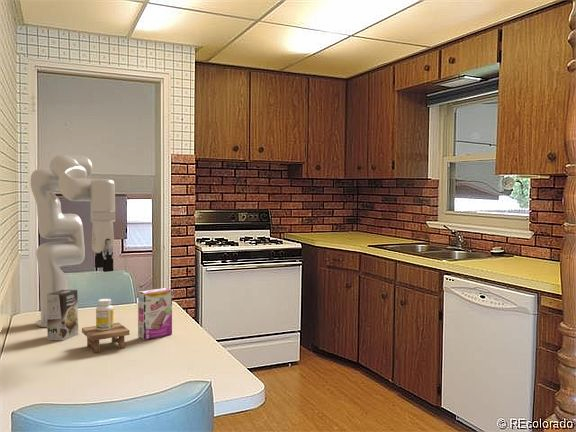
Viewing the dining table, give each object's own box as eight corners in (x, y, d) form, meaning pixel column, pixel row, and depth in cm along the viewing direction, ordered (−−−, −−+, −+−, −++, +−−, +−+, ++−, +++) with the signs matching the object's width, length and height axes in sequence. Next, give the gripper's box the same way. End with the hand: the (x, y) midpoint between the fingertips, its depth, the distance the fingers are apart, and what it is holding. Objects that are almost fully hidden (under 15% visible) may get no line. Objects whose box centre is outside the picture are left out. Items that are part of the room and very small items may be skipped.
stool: (82, 345, 174) (82, 327, 173) (118, 339, 180) (118, 322, 180) (91, 355, 164) (91, 336, 163) (129, 348, 170) (129, 330, 170)
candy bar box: (144, 341, 179) (144, 293, 178) (137, 338, 182) (136, 291, 182) (173, 334, 187) (172, 289, 186) (165, 332, 190) (165, 287, 190)
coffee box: (63, 341, 179) (62, 294, 178) (46, 340, 181) (45, 293, 180) (79, 334, 188) (78, 289, 187) (63, 333, 189) (62, 288, 189)
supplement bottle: (101, 331, 168) (101, 302, 168) (93, 329, 172) (92, 300, 171) (116, 328, 172) (116, 299, 172) (107, 325, 176) (107, 297, 175)
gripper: (84, 216, 175) (85, 267, 176) (98, 218, 161) (99, 274, 162) (107, 215, 179) (108, 265, 180) (122, 218, 165) (123, 272, 166)
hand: (104, 269), depth 171 cm, fingers open, 9 cm apart
